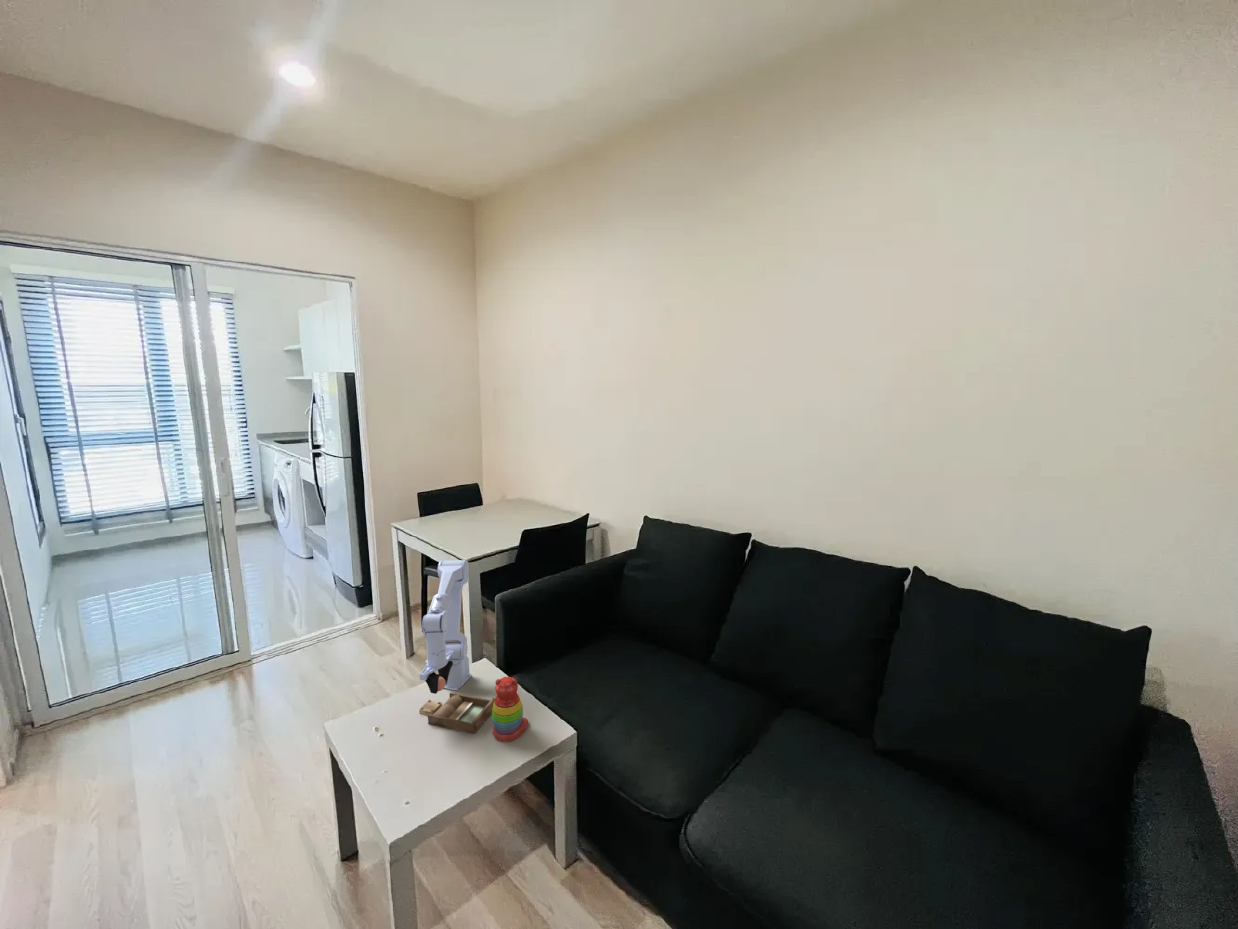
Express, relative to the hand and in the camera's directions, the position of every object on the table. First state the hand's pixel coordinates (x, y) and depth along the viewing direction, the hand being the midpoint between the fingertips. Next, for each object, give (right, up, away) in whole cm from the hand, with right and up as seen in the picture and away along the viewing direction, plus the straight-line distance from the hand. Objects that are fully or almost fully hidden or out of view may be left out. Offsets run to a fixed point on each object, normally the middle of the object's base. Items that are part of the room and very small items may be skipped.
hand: (438, 688), depth 159 cm
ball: (0, +1, 0) cm, 2 cm away
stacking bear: (+24, -10, -7) cm, 27 cm away
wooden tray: (+8, -12, 0) cm, 14 cm away
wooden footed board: (-4, -8, +3) cm, 9 cm away
